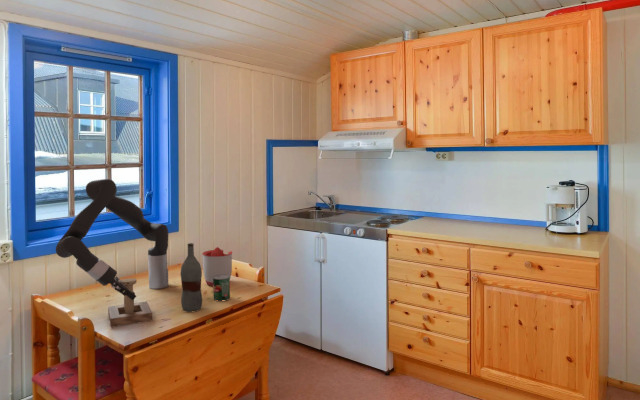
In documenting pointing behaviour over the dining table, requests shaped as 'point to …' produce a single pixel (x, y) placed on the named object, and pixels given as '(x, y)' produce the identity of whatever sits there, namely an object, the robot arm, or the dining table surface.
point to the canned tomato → (221, 287)
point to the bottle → (191, 282)
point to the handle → (127, 301)
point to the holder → (129, 314)
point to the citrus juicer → (216, 264)
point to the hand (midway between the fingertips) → (133, 296)
